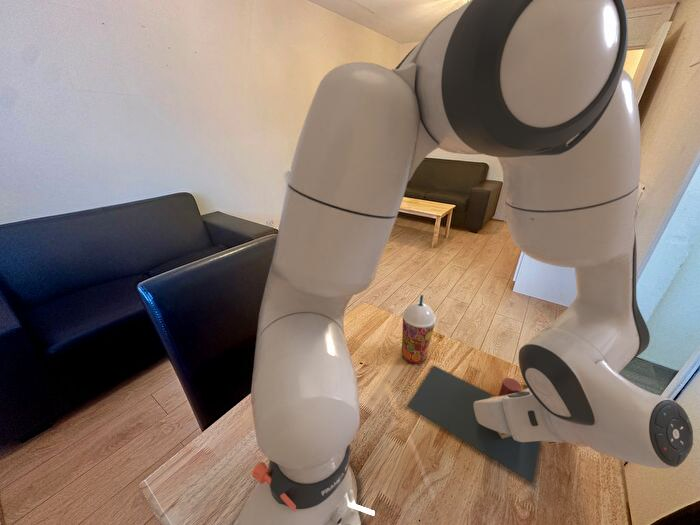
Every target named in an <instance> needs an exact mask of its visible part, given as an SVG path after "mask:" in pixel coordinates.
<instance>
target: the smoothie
mask: <svg viewBox="0 0 700 525" xmlns="http://www.w3.org/2000/svg"><path fill="white" fill-rule="evenodd" d="M423 300H424V294H421V295H420V297H419V301H417V302H412V303H411V304H409V305H408V306H407V307H406V308H405V309H404V310H403V312H402V331H401V332H402V334H401V336H402V337H401V353H402V355H403V358H404V359H405V360H406V361H408V362H409V363H411V364H420V363H422V362H423V361H424V360H425V359H426V358H427V356H428V352H429V349H430V344H431V340H432V337H433V333H434V328H435V325H436V321H437V317H436V314H435V312H434V310H433V309H432V307H430V306H429V305H428V304H427V303H424V302H423Z"/></svg>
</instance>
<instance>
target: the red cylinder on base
mask: <svg viewBox="0 0 700 525" xmlns="http://www.w3.org/2000/svg"><path fill="white" fill-rule="evenodd" d="M521 388H522V386H521V384H520V382H518V381H517V380H516V379H514V378H511V377H504V378H503V379H502V381H501V385H500V389H499V392H498V395H497V396H503V395H508V394H513V393H517V392H521ZM497 433H498V434H499V435H500V437H501V438H502V439H503V438H507V437H511V436H512V434H504V433H500V432H497Z"/></svg>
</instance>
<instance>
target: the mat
mask: <svg viewBox="0 0 700 525" xmlns="http://www.w3.org/2000/svg"><path fill="white" fill-rule="evenodd" d="M494 396H495V395H493V394H491V393H489V392H487V391H485V390H483V389H482V388H479V387H478V386H475V385H473V384H471V383H469V382H467V381H465V380H464V379H461V378H459V377H457V376H456V375H454V374H451V373H449V372H448V371H445V370H443V369H441V368H439V367H437V366H435V365H433V366H432V368H431V369H430V371H429V372H428V374H427V375H426V377H425V379H424V380H423V382H422V383H421V385H420V386H419V388H418V389H417V391H416V392H415V393H414V395H413V397H412V398H411V399H410V401H409V403H408V404H407V408H409V409H410V410H413V411H414V412H416V413H417V414H419V415H421V416H423V418H425V419H427V420H429V421H430V422H432V423H433V424H435V425H437V426H438V427H440V428H441V429H443V430H445V431H446V432H448V433H450V434H451V435H453V436H454V437H457V438H458V439H459V440H461V441H463V442H464V443H466V444H468V445H470V446H471V447H473V448H474V449H476V450H477V451H479V452H481V453H483V454H484V455H485V456H487V457H489V458H490V459H492V460H493V461H495V462H497V463H499V464H500V465H502V466H503V467H505V468H507V469H508V470H510V471H511V472H513V473H515V474H516V475H519V476H520V477H521V478H523V479H524V480H526V481H528V482H530V483H531V484H533V482H534V478H535V473H536V467H537V460H538V454H539V448H540V444H541V441H537V442H519V441H516V440H514V439H513V437H512V436H511V437H507V438H503V439H502V438H501V437H500V435H499V434H498V433H497V431H494V430H492V429H489V428H487V427H485V426H483V425H481V424H479V423H478V421H477V419H476V416H475V412H474V408H473V403H474V402H475V401H479V400H484V399H489V398H490V397H494Z"/></svg>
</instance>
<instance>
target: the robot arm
mask: <svg viewBox="0 0 700 525" xmlns="http://www.w3.org/2000/svg"><path fill="white" fill-rule="evenodd" d="M628 22H629V21H628V16H627V8H626V5H625V2H624V0H469V1H467V2H466V3H464V4H463V5H461V6H460V7H458V8H457V9H454V11H452V12H450V13H448V14H447V15H446V16H445V17H443V18H442V19H441V20H440V21H439V22H438V23H437V24H436V25H435V26H434V27H433V28H432V29H430V30H429V32H428V33H427V34H426V35H425V36H424V37H423V38H422V39H421V41H419V43H417V45H416V46H414V47H413V48H412V49H411V50H410V51H409V52H408V53H407V54H406V55H405V56H404V58H403V59H402V60H400V63H398V65H397V66H396V67H395V68H391V69H389V68H388V67H386V66H383V65H381V64H378V63H373V62H366V61H365V62H364V61H355V62H348V63H344V64H340V65H337V66H336V67H334V68H333V69H332V68H331V70H329V71H328V72H327V73H326V74H325V75H324V76H323V78H322V79H321V80H320V81H319V84H318V85H317V88H316V90H315V93H314V95H313V98H312V100H311V103H310V105H309V106H308V110H307V113H306V116H305V118H304V121H303V124H302V127H301V130H300V133H299V136H298V139H297V143H296V146H295V150H294V154H293V158H292V162H291V165H290V170H289V175H288V179H287V180H288V181H287V184H286V190H285V194H284V200H283V206H282V209H281V214H280V220H279V225H278V231H277V235H276V239H275V245H274V251H273V254H272V259H271V260H272V261H271V264H270V267H269V272H268V275H267V278H266V281H265V282H266V283H265V287H264V291H263V296H262V299H261V304H260V308H259V312H258V313H259V314H258V320H257V321H258V322H257V331H256V340H255V350H254V360H253V371H252V379H251V389H250V399H251V400H250V401H251V410H252V418H253V426H254V433H255V438H256V444H257V447H258V449H259V451H260V452H261V454H263V456H265V457H266V458H268V460H269V462H268V465H267V466H266V464H265V462H264V461H260V462H258V463H257V464H256V465H255V467H254V468H253V470H252V472H251V475H252V477H253V478H254V479H256V480H257V481H258V482H257V483H256V485H255V487H254V488H253V490H252V492H251V493H250V495H249V497H248V498H247V500H246V502H245V504H244V506H243V507H242V508H241V510H240V511H239V512H240V513H239V515H238V516H237V517H236V519H235V521H234V523H232V525H362V521H361V517H360V513H359V512H362V513H365V514H368V515H371V516H373V517H375V510H372V509H370V508H367V507H364V506H361V505H359V504H358V503H357V500H358V486H357V480H356V476H355V473H354V471H353V468H352V467H351V465H350V464H351V463H350V462H351V453H352V449H351V443H352V442H353V440H354V438H355V437H356V436H357V434H358V432H359V428H360V423H361V417H360V397H359V385H358V378H357V372H356V369H355V366H354V362H353V359H352V357H351V353H350V349H349V346H348V343H347V339H346V335H345V327H344V326H345V325H344V323H345V322H344V318H345V312H346V309H347V307H348V304H349V303H350V301H351V300H352V298H353V296H355V295H358V294H361V293H363V292H364V291H366V290H367V289H369V287H370V286H371V285H372V284H373V283H374V281H375V278H376V275H377V273H378V271H379V267H380V264H381V263H382V260H383V256H384V254H385V251H386V248H387V245H388V243H389V240H390V237H391V234H392V232H393V229H394V227H395V223H396V220H397V218H398V215H399V211H400V208H401V205H402V203H403V200H404V197H405V194H406V193H405V192H406V190H407V185H408V183H409V181H411V179H412V177H413V176H414V173H415V171H416V170H417V168H419V166H420V164H421V163H422V162H423V161H424V160H425V159H426V158H427V156H428V155H429V154H431V153H432V152H433V151H436V150H437V149H440V150H442V151H445V152H448V153H453V154H460V155H484V156H489V157H494V158H495V157H496V158H497V160H498V161H499V164H500V166H501V170H502V174H503V175H502V176H503V179H502V180H503V182H502V184H503V197H504V198H503V199H504V210H505V221H506V225H507V230H508V233H509V236H510V238H511V241H512V243H513V245H514V246H515V247H516V248H517V249H518V250H519V251H521V252H522V253H523V254H524V255H526V256H527V257H529V258H530V259H533V260H535V261H538V262H540V263H543V264H545V265H549V266H555V267H561V268H570V269H572V268H573V269H574V277H575V284H576V293H577V294H576V296H575V298H574V300H573V301H572V303H571V304H570V305H569V306H568V307H567V308H566V309H565V310H564V311H563V312H562V313H561V314H560V315H558V316H557V317H556V318H554V320H553V321H551V322H550V323H549V324H548V325H547V326H545V327H544V328H542V330H540V331H539V332H538V333H537V334H535V335H534V336H533V337H531V339H530V340H528V341H527V342H526V343H525V344H524V345H522V346H521V347H520V349H519V351H518V367H519V370H520V373H521V376H522V379H523V381H524V383H525V386H526V385H527V386H526V388H525V389H522V390H520V392H517V393H513V394H508V395H503V396H498V395H493V396H494V397H490V398H489V399H484V400H479V401H475V402H474V403H473V408H474V412H475V416H476V419H477V421H478V423H479V424H481V425H483V426H485V427H487V428H489V429H492V430H494V431H497V432H500V433H504V434H512V437H513V439H514V440H516V441H519V442H537V441H540V442H552V443H559V444H563V443H566V444H569V445H572V446H576V447H579V448H590V449H591V450H593V451H595V452H596V453H599V454H601V455H604V456H606V457H609V458H613V459H616V460H619V461H624V462H626V463H630V464H634V465H638V466H644V467H648V468H654V469H655V468H656V469H674V468H677V467H679V466H680V465H682V464H683V462H685V460H686V459H687V458H688V455H690V453H691V450H692V449H693V446H694V429H693V426H692V422H691V420H690V418H689V416H688V414H687V412H686V411H685V409H684V408H683V407H682V405H681V404H680V403H678V402H677V401H675V400H674V399H671V398H669V397H666V396H664V395H660V394H657V393H652V392H650V391H648V390H645V389H644V388H642V387H640V386H638V385H636V384H634V383H632V382H631V381H630V380H628V379H627V378H625V377H624V376H622V375H621V374H620V372H622V370H624V368H625V367H626V366H627V365H628V364H629V363H631V362H633V361H634V360H635V359H636V358H637V357H639V356H640V355H641V354H643V353H644V352H645V351H646V350H647V349H648V347H649V345H650V342H651V341H650V340H651V336H650V331H649V328H648V326H647V323H646V321H645V319H644V317H643V314H642V312H641V310H640V308H639V305H638V299H637V268H638V267H637V266H638V265H637V264H638V263H637V261H638V256H637V248H638V247H637V235H636V229H635V228H636V227H635V222H636V221H635V220H636V212H637V204H638V196H639V188H640V187H639V186H640V175H641V164H642V136H641V135H642V134H641V121H640V120H641V119H640V111H639V104H638V103H639V102H638V97H637V92H636V87H635V86H636V85H635V83H634V80H633V78H632V76H631V75H630V74H629V73H628V72H627V71H626V70H625V69H624V67H625V63H626V59H627V53H628V45H629V23H628ZM527 387H528V388H527Z"/></svg>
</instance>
